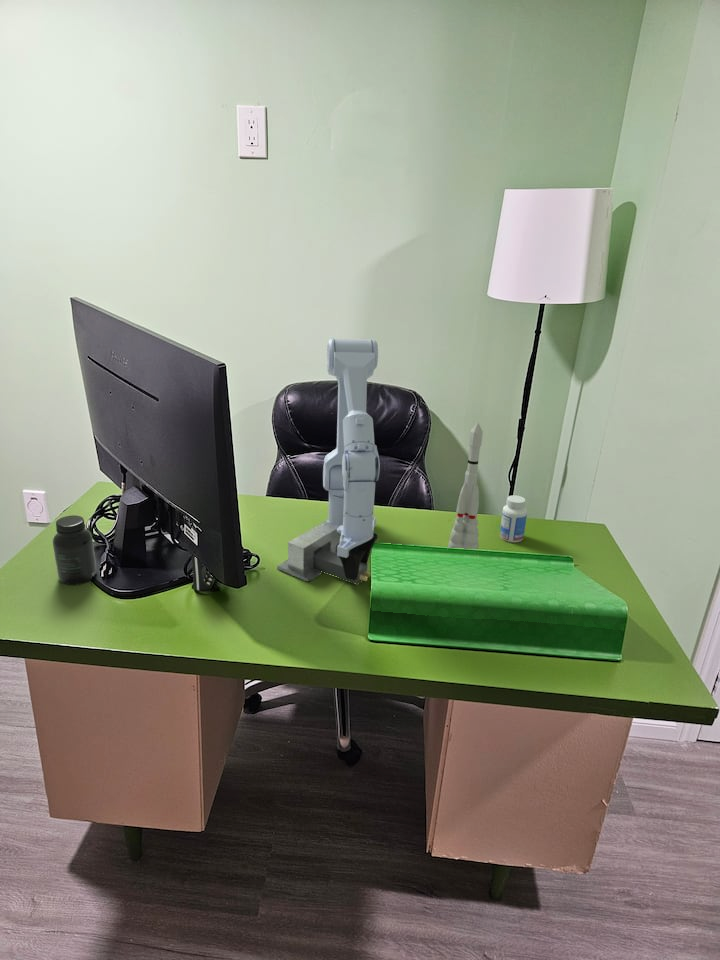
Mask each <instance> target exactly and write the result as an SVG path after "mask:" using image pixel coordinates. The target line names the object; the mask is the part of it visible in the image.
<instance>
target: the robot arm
mask: <svg viewBox="0 0 720 960" xmlns="http://www.w3.org/2000/svg"><path fill="white" fill-rule="evenodd" d="M326 347H327V348H326V351H327V352H326V367H327V368H326V369H327V373H328V375H330V376H333V377H335V378H336V381H337V387H338V389H337V420H336V421H337V423H336V447H335V449H333V450H332V451H331V452H329V453H327V454H326V455H325V457H324V459H323V468H322V486H323V489H324V490H325V491H328V509H327V510H328V511H327V512H328V514H327V520H325V521H326V522H329V523H332V524H335V525H337V526H339V527H338V528H337V532H338V533H340V543H339V544H338V545H337V546H336V553H337V556H339V557H340V560H341V562H342V565H343V569H344V573H345V577H346V578H348V579H352V580H356V578H357V576H358V572H359V566H360V562H362V563H365V564H368V562H369V559H370V555H371V551H372V549H373V546H374V544H375V543H376V541H377V539H378V537H379V536H378V534H377V533H375V532H374V530H375V529H374V528H375V527H376V524H377V518H376V517H375V516H374V513H375V511H374V510H375V506H374V505H375V494H376V493H375V492H376V482H378V480H379V478H380V468H381V466H380V465H381V464H380V463H381V462H380V456H379V452H378V447H377V445H376V444H375V432H374V420H373V417H372V416H371V415H369V413H367V397H368V396H367V395H368V394H367V391H368V390H367V389H368V388H367V387H368V379H370V378H371V377H372V376H373V375H374V371H375V369H377V367H378V362H379V360H378V359H379V348H378V347H379V346H378V343H377V341H376V339H375V338H371V339H350V338H347V339H346V338H345V339H344V338H342V339H341V338H338V339H337V338H330V339H329V340H327V346H326Z"/></svg>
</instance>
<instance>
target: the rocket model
mask: <svg viewBox="0 0 720 960" xmlns="http://www.w3.org/2000/svg"><path fill="white" fill-rule="evenodd" d="M483 433H484V432H483V430H482V428H481V425H480V423H479V422H477V423H476V424H475V425H474V426H473V427H472V428H471V430H470V433H469V434H470V435H469V442H468V446H469V450H468V460H467V468H466V471H465V474H464V481H463V485H462V487H461V489H460V492H459V496H458V501H457V505H456V510H455V512H456V513H457V514H456V515H457V516H456V517H455V521H454V522H453V527H452V530H451V533H450V535H449V538H450V539H449V541H448V545H447V548H448V547H449V548H464V549H477V550H478V548H479V545H480V544H479V540H478V539H479V538H478V537H479V536H480V534H479V529H478V525H479V521H478V518H477V517H478V511H479V508H480V507H479V505H480V504H479V503H480V502H479V501H480V490H479V487H478V476H479V472H478V467H479V457H480V450H481V445H482V441H483Z"/></svg>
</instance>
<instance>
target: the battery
mask: <svg viewBox="0 0 720 960" xmlns="http://www.w3.org/2000/svg"><path fill="white" fill-rule="evenodd" d="M190 555H191V564H192V566H191V567H192V576H193V577H192V579H193V590H196V591H208V590H211V588H212V587H213V585H214V583H215V581H216V579H214V578H213V576H212V575H211V574H210V573H209V572H208V571H207V570H206V569H205V567H204V566H203V565H202V563H200V562H199V560H198V559H197V558H196V557H194V556H192V554H190Z"/></svg>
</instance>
